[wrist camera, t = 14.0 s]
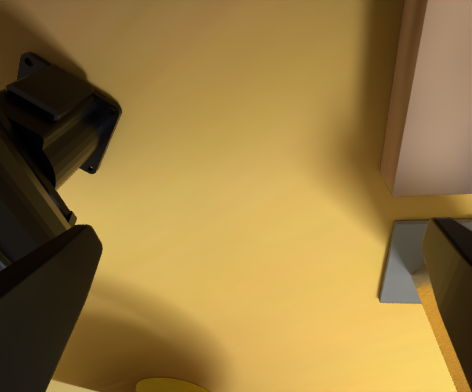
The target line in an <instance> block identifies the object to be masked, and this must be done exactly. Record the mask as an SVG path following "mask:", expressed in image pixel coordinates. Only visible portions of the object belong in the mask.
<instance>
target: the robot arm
mask: <svg viewBox="0 0 472 392" xmlns="http://www.w3.org/2000/svg"><path fill="white" fill-rule="evenodd" d="M29 59H31V60H32V62H33V64H32V63H30V61H29ZM111 108H112V109H114V110H115V112H116V113H113V112H112V111H111ZM121 114H122V110H121V107H120V106H119V105H118V104H117V103H115V102H113V101H112V100H110V99H108V98H107V97H105V96H103V95H102V94H100V93H98V92H97V91H95V90H94V89H93V88H92V87H91V86H89V85H88V84H86V83H84V82H83V81H81V80H79V79H78V78H76V77H75V76H73V75H71V74H70V73H68V72H66V71H65V70H63V69H61V68H60V67H58V66H56V65H52V64H51V63H49V62H47V61H46V60H44V59H42V58H41V57H39V56H38V55H36V54H34V53H32V52H27V53H25V54H23V55H22V56H21V59H20V65H19V72H18V78H17V81H15V82H12V83H10V84H8V85H7V86H6V89H3V90H1V91H0V392H46V389H47V387H48V385H49V383H50V380H51V378H52V376H53V374H54V371H55V369H56V367H57V365H58V362H59V360H60V358H61V356H62V353H63V351H64V349H65V347H66V344H67V342H68V340H69V338H70V335H71V333H72V331H73V329H74V326H75V324H76V322H77V320H78V317H79V315H80V313H81V311H82V308H83V306H84V304H85V301H86V299H87V296H88V293H89V291H90V288H91V285H92V281H93V278H94V275H95V272H96V269H97V266H98V263H99V260H100V257H101V254H102V250H103V247H102V243H101V241H100V240H99V238H98V236H97V234H96V233H95V231H94V229H93V227H92V226H90V225H87V224H86V225H75V223H76V220H77V217H76V216H75V214H74V213H73V212H72V211H70V210H69V209H68V207H67V206H66V204H65V203H64V201H63V200H62V198H61V197H60V195H59V194H58V192H57V190H58V189H59V188H60V186H61V185H62V184H63V183H64V182H65V181H66V180H67V179H68V178H69V177H70V176H71V175H72V174H73V173H74V172H75V171H76V170H77V169H78V168H80V169H82V170H84V171H86V172H88V173H90V174H94V173H96V171H97V170H98V169H99V167H100V164H101V162H102V160H103V157H104V155H105V152H106V150H107V148H108V145H109V143H110V140H111V138H112V135H113V133H114V131H115V128H116V126H117V123H118V121H119V119H120V116H121ZM90 166H91V167H92V168H91V167H90ZM422 252H423V256H424V260H425V263H426V267H427V271H428V274H429V278H430V282H431V285H432V289H433V293H434V297H435V300H436V304H437V307H438V310H439V313H440V316H441V318H442V321H443V323H444V326H445V328H446V331H447V333H448V336H449V338H450V341H451V343H452V346H453V348H454V351H455V353H456V355H457V358H458V360H459V363H460V365H461V368H462V370H463V373H464V375H465V378H466V380H467V383H468V385H469V388H470V390H471V392H472V231H471V230H470V229H468V228H467V227H465V226H463V225H462V224H460V223H459V222H457V221H456V220H454V219H452V218H449V217H437V218H431V219H430V220H429V222H428V224H427V228H426V231H425V234H424V238H423V241H422Z"/></svg>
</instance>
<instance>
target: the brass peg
mask: <svg viewBox="0 0 472 392" xmlns="http://www.w3.org/2000/svg"><path fill="white" fill-rule="evenodd" d="M411 277H412V280H413V282H414V285H415V287H416V290H417V292H418V295H419V297H420V300H421V302H422V305H423V307H424V310H425V312H426V315H427V317H428V320H429V322H430V325H431V327H432V330H433V332H434V335H435V337H436V340H437V342H438V345H439V347H440V350H441V352H442V355H443V357H444V360H445V362H446V365H447V367H448V370H449V372H450V375H451V377H452V380H453V382H454V385H455V387H456V390H457V392H471V390H470V388H469V385H468V383H467V380H466V378H465V375H464V373H463V370H462V368H461V365H460V363H459V360H458V358H457V355H456V353H455V351H454V348H453V346H452V343H451V341H450V338H449V336H448V333H447V331H446V328H445V326H444V323H443V321H442V318H441V316H440V313H439V310H438V307H437V304H436V300H435V297H434V293H433V289H432V285H431V282H430V278H429V274H428V271H427V267H426V263H424V264H423V265H422V266H421V267H419V268H418V269H417V270H416V271H414V272H413V273H412V274H411Z"/></svg>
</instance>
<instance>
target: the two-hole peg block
mask: <svg viewBox="0 0 472 392" xmlns="http://www.w3.org/2000/svg"><path fill="white" fill-rule="evenodd" d="M380 172H381V174H382V176H383V178H384V181H385V183H386V185H387V187H388V189H389V192H390V194H391V196H392V197H404V196H428V195H452V194H472V0H405V1H404V8H403V15H402V22H401V29H400V36H399V43H398V49H397V56H396V63H395V70H394V77H393V84H392V91H391V98H390V105H389V112H388V119H387V126H386V132H385V139H384V146H383V153H382V160H381V167H380Z"/></svg>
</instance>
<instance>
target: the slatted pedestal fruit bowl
mask: <svg viewBox="0 0 472 392" xmlns="http://www.w3.org/2000/svg"><path fill="white" fill-rule="evenodd" d="M135 391H136V392H209V391H208V390H206V389H204V388H202V387H200V386H198V385H195V384H193V383H189V382H186V381H182V380H178V379H172V378H161V377H160V378H148V379H144V380H141V381H140V382H138V383H137V385H136V388H135Z"/></svg>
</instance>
